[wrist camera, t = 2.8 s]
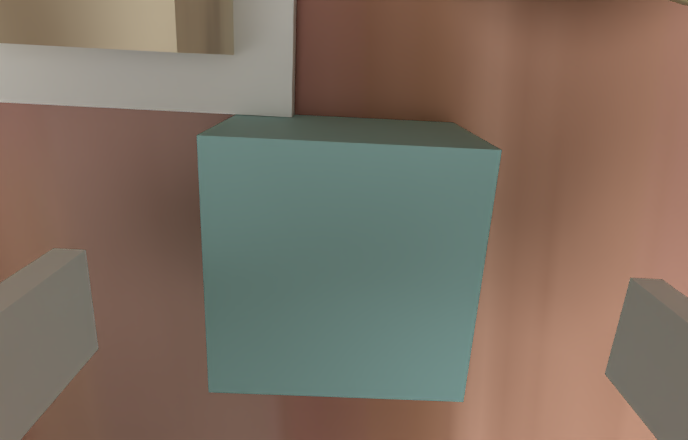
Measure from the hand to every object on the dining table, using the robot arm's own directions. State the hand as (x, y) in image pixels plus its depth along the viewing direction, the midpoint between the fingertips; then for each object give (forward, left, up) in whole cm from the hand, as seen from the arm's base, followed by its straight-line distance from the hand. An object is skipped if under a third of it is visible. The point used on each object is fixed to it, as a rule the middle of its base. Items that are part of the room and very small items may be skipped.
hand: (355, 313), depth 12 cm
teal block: (0, 0, -8) cm, 8 cm away
